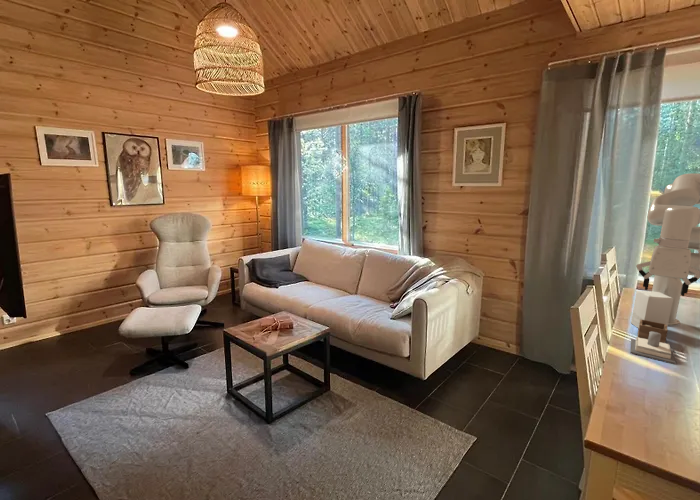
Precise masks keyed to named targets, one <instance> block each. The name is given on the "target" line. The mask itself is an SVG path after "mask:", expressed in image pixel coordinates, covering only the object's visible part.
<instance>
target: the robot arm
mask: <svg viewBox="0 0 700 500" xmlns="http://www.w3.org/2000/svg"><path fill="white" fill-rule="evenodd" d="M696 205H700V173H695V172H694V173H684V174H680V175H679V176H677V177H676V178H674V180H673V182H672V183H670V184H667V185H666V186H665V188H664V192H663V194H660V195H658V196H656V197H655V198H654V199H653V200H652V201H651V203H650V206H649V208H648V213H647V221H648V223H649V224H650V225H652V226H661V229H660V230H661V231H660V234H659V237H658V238H654V239H653V243H655V244H657V245H655V246H654V249H653V252H652V255H651V257H650V260H648V261H645V262H642V263H638V264H636V269H637V271H638V273H639V274H640V276H642V278H643V282H642V287H643V288H644V291H649V290H648V289H649V285H650V278H651V277H652V276H654V277H653V278H654V279H653V282H652V290H651V291H652V292H660V293H662V294H665V295H667V296H669V297H671V298H673V302H672V307H671V312H670V317H669V322H668V326H671V327H674V326H675V327H676V326H680V323H681V322H680V320H679V319H677V315H678V310H679V306H680V305H679V304H680V300H681V296H682V297H684V296H685V294H688V292H689V287H690V285H691V284H693V283H695V282H697V281H698V280H699V279H700V226H698V225H699V224H700V208H699V207H697V206H696ZM692 250H695V251H697V252H691V251H692ZM645 267H649V268H648V271H647V272H645V271H644V269H643V268H645ZM689 276H692V277H690V278H688V277H689Z"/></svg>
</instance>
